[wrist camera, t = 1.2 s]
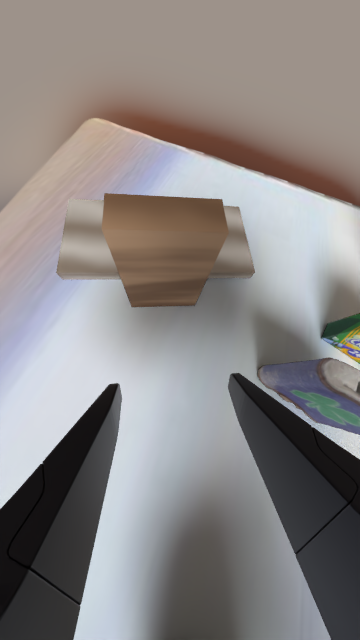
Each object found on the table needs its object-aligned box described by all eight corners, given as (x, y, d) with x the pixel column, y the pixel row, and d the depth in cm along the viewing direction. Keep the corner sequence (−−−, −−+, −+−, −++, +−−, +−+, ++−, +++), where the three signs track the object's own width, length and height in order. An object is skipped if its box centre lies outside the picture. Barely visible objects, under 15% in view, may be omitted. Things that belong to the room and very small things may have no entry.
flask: (252, 378, 20) (344, 377, 10) (263, 357, 21) (356, 339, 11) (322, 429, 20) (497, 482, 9) (330, 405, 20) (496, 431, 10)
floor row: (250, 281, 25) (256, 275, 23) (62, 283, 22) (55, 277, 20) (234, 215, 29) (238, 206, 27) (73, 208, 26) (68, 198, 24)
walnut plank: (194, 305, 23) (229, 232, 11) (132, 307, 22) (101, 229, 10) (192, 285, 24) (221, 199, 12) (132, 286, 23) (104, 193, 11)
